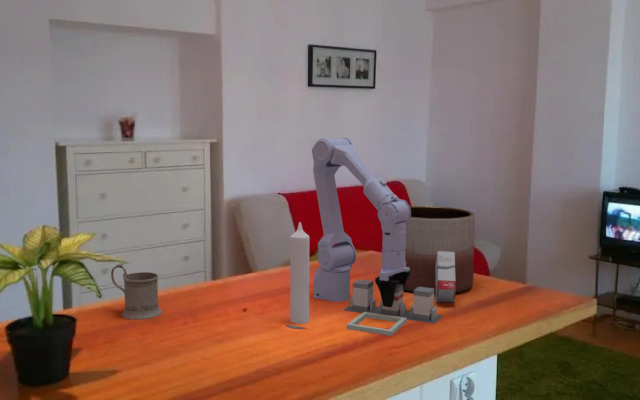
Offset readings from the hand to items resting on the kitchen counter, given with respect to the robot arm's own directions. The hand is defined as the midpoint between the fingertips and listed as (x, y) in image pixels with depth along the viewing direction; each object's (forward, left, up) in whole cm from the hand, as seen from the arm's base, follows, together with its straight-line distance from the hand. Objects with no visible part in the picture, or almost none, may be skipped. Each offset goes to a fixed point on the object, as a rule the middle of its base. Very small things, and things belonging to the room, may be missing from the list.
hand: (392, 302), depth 165 cm
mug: (-60, -26, -4) cm, 66 cm away
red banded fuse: (0, 0, -3) cm, 3 cm away
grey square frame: (0, -11, -4) cm, 12 cm away
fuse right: (+8, 0, -3) cm, 8 cm away
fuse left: (-8, 0, -3) cm, 8 cm away
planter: (0, +34, -4) cm, 34 cm away
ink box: (+10, +13, -1) cm, 17 cm away
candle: (-18, -16, -4) cm, 24 cm away
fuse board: (0, 0, -4) cm, 4 cm away
